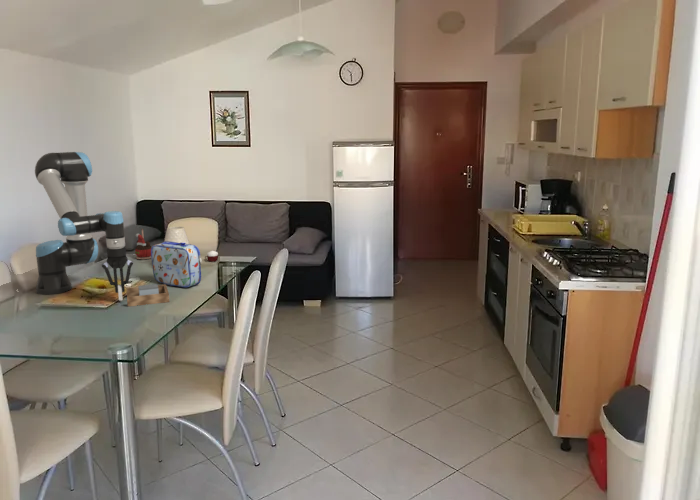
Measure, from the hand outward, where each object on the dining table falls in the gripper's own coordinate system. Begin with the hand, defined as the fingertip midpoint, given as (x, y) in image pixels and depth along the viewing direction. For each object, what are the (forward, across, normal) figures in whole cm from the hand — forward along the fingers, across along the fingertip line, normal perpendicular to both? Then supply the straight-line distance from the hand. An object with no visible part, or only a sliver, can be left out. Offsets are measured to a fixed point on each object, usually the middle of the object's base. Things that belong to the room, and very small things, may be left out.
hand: (120, 299), depth 248 cm
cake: (+2, +14, +92) cm, 93 cm away
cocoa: (+2, +51, +67) cm, 84 cm away
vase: (+2, +30, +54) cm, 62 cm away
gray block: (+1, +12, 0) cm, 12 cm away
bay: (+1, +11, 0) cm, 11 cm away
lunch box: (+2, +27, +20) cm, 34 cm away
